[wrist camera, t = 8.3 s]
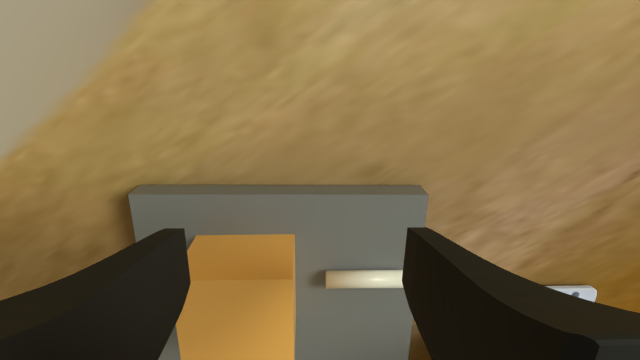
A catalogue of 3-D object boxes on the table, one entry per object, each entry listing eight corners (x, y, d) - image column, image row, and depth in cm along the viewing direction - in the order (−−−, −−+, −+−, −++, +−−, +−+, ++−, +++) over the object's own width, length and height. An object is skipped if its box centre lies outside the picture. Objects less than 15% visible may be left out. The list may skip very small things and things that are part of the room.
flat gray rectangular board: (420, 185, 21) (449, 218, 17) (401, 348, 25) (421, 407, 21) (140, 184, 21) (97, 219, 16) (165, 352, 25) (136, 415, 20)
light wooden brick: (294, 234, 20) (292, 279, 16) (295, 313, 22) (294, 372, 18) (196, 235, 20) (169, 281, 16) (205, 316, 22) (183, 375, 18)
